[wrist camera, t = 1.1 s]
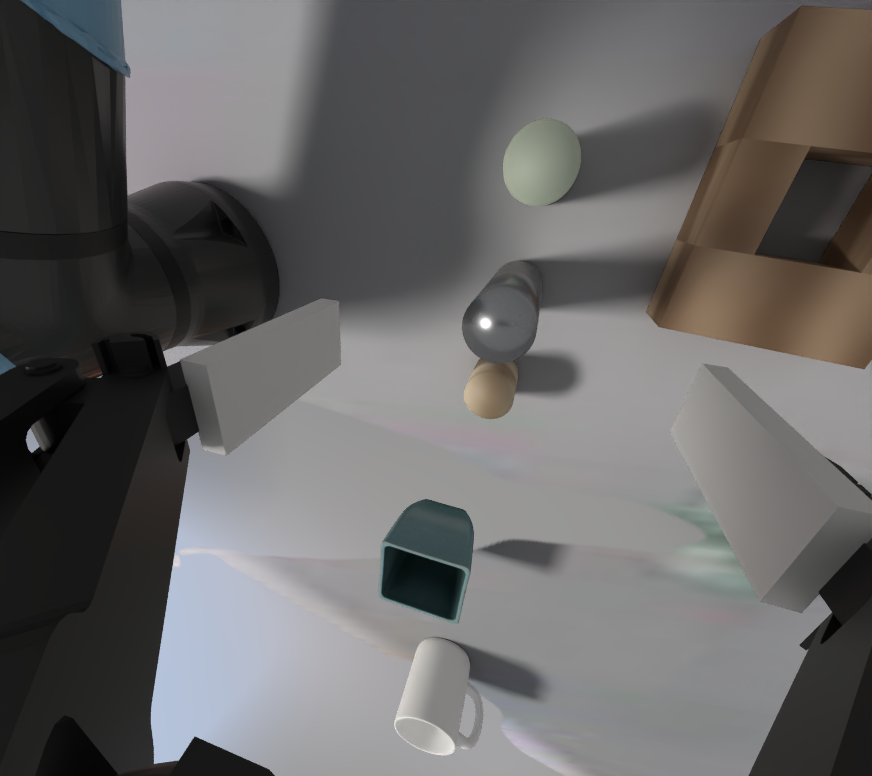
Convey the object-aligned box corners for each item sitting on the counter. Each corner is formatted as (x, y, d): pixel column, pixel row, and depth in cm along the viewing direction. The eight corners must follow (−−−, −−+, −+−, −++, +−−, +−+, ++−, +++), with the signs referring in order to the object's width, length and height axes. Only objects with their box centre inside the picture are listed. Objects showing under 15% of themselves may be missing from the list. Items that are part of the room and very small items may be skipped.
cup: (434, 628, 54) (411, 710, 45) (503, 673, 54) (493, 763, 45) (409, 649, 58) (383, 727, 50) (473, 690, 58) (459, 776, 50)
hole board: (646, 312, 29) (658, 326, 25) (760, 38, 21) (801, 5, 18) (823, 347, 26) (864, 369, 23) (1023, 57, 19) (1129, 23, 15)
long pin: (488, 305, 32) (456, 353, 21) (498, 256, 30) (469, 284, 19) (535, 314, 31) (525, 370, 21) (548, 265, 29) (545, 299, 19)
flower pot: (486, 501, 41) (471, 570, 33) (474, 554, 45) (457, 626, 38) (411, 480, 43) (380, 541, 35) (406, 533, 47) (377, 598, 39)
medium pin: (510, 201, 28) (495, 200, 21) (523, 138, 26) (512, 114, 19) (564, 209, 27) (567, 211, 20) (581, 145, 25) (592, 123, 18)
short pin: (471, 386, 35) (460, 411, 31) (479, 348, 34) (468, 369, 29) (512, 397, 35) (506, 424, 30) (523, 358, 33) (518, 381, 29)
